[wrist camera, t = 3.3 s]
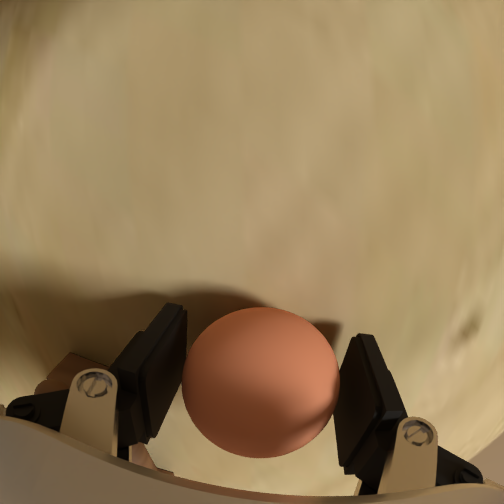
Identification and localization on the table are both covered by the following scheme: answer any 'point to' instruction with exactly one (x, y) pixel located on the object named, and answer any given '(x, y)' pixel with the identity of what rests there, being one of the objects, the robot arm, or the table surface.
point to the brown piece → (63, 380)
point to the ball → (260, 382)
